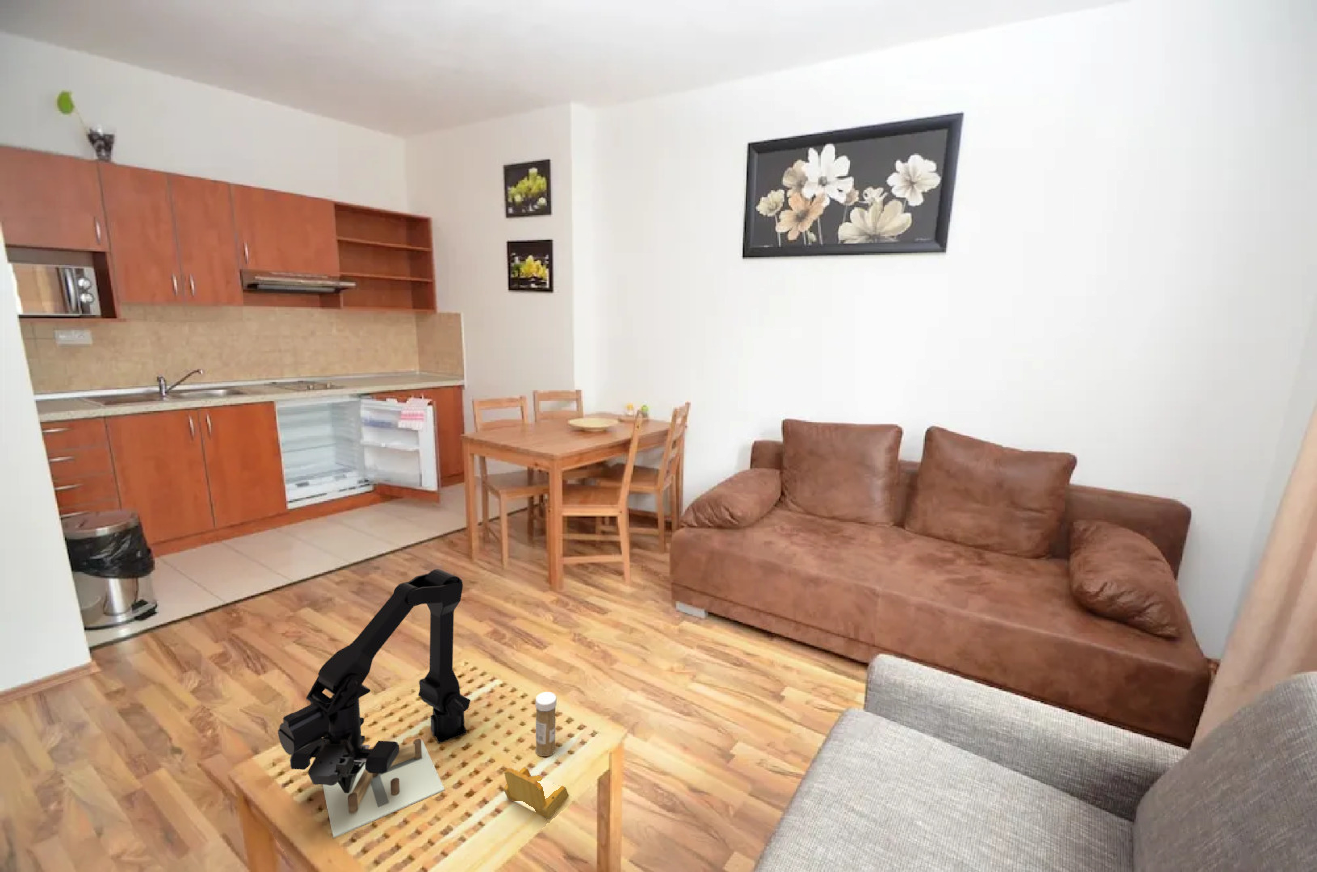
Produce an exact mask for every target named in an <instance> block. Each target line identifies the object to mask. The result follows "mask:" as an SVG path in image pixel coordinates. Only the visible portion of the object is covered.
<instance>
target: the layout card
mask: <svg viewBox="0 0 1317 872" xmlns="http://www.w3.org/2000/svg"><path fill="white" fill-rule="evenodd" d="M421 749H422V757H421V758H420V759H418V760H415V759H414V758H411V759H408V760H406V761H403V762H401V763H398V764H395V765H393V766H390V768H389V769H388V771H387V772H385V773H383V774H380V773H379V774H378V775H377V776H376V777H374V778H372V780H371V782H370V784H369V786H368V788H367V790H366V792H365V794H364V795H363V797H362V799H361V801H360V803H359V805H358V810H357V811H356V812H355V813H352V814H350V813H349V810H348V795H349V794H351V793H352V792H353V790H354V788H355V786H356V784H357V783H358V781H359V779H360V777H361V775H362V773H363V772H364V770H365V764H364V766H363V767H362V769H361V770H360V772H359V773H357V776H356V779H355V781H354V784H353V786H352V789H351V791H350V792H349V793H344V791H343V790H342V788H341V786H340V785H339V783H338V782H337V783H336V784H335V785H332V786H329V785H322V789H323V794H324V799H325V803H326V808H327V813H328V817H329V823H330V828H331V833H332V838H333V839H335V838H337V837H340V836H342V835H344V834H346V833H349V832H352V831H354V830H355V829H358V828H360V827H361V828H362V827H363V826H366V825H367V824H369V823H372V822H374V821H377V820H380V819H381V818H382V819H383V818H384V817H385V816H388V815H391V814H393V813H395V812H399V811H400V810H402V809H404V808H407V807H409V806H412V805H414V804H416V803H418V802H419V803H420V802H421V801H423V800H425V799H428V798H430V797H432V796H434V795H437V794H439V793H441V792H444V791H445V787H444V783H442V780H441V777H440V775H439V774H438V771H437V770H436V767H435V765H434V762H433V761H432V758H431V756H430V753H429V752H428V750H427V747H426V745H425V743H424V741H423V739H421ZM394 778H399V787H400V792H399V794H398V795H395V796H392V795H391V783H390V782H391V780H392V779H394Z"/></svg>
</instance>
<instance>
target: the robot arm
mask: <svg viewBox="0 0 1317 872" xmlns="http://www.w3.org/2000/svg"><path fill="white" fill-rule="evenodd" d="M463 588H464V584H463V580H462V579H461V578H460V577H459V576H457V575H455V574H452V573H450V572H447V571H444V570H443V569H439V568H436V569H433V570H431V571H429V572H428V573H425V574H421V575H416V576H415V577H414V578H412V579H409V581H405V582H401V583H399V584H398V585H397V586H396V587H395V588H394V590H393V594H392V595H391V596H390V597H389V598H388V600H387V601H386V602H385V603H384V604H383V605H382V607H380V609H379V610H378V612H377V613H376V614H375V615H374V617H373V618H372V619H371V620H370V621H369V623H367V624H366V626H365V627H364V628H363V630H362V631H361V632H360V633H359V635H358V636H357V637H356V638H355V639H354V640H353V641H352V642H351V643H350V644H349V645H346V646H345V647H343V648H340V649H339V650H337V651H336V652H335V653H334V654H333V655H332V656H331V657H330V658H329V659H327V661H326V662H325V663H324V664H323V665H322V666H321V668H319V670H318V673H317V675H318V676H317V677H316V680H315V681H314V683H313V685H312V687H311V688H310V690H309V692H308V694H307V695H306V698H305V699H306V700H307V701H308V702H309V703H310V704H309V705H307V706H305V707H302V708H301V709H299V710H297V711H295V712H291V713H288V714H287V715H284V716H283V718H282V722H281V723H280V725H279V726H278V727H279V728H278V729H277V735H278V739H279V742H280V745H281V747H282V749H283V751H285V753H286V754H287V755H289V756H290V757H289V758H290V759H289V764H290V765H289V766H290V769H291V770H300V771H301V770H304V771H305V770H306V769H307V768H308V767H309V769H308V771H307V774H308V776H309V779H310V780H311V782H312V784H313V785H316V786H319V785H322V786H323V785H329V786H332V785H335V784H336V783H337V782H338V783H339V785H340V786H341V788H342V790H343V791H344V793H349V792H350V791H351V789H352V786H353V784H354V781H355V779H356V776H357V773H359V772H360V770H361V769H362V767H363V766H364V764H365V769H366V770H367V771H368V772H369V773H380V774H383V773H385V772H387V771H388V769H389V768H390V766H391V765H392V763H393V761H394V760H395V758H396V757H397V755H398V753H399V747H400V745H399V743H398V742H397V741H392V740H377V742H376V743H375V745H374V746H373V748H370V745H369V744H364V742H366V735H362V725H363V724H364V722H365V717H361V711H360V699H361V698H362V697H364V696H365V695H367V694H369V693H370V692H371V689H370V688H369V687H367V686H366V685H364V684H363V683H364V682H365V680H366V679H367V676H369V674H370V671H371V667H372V664H373V659H374V658H375V656H376V655H377V653H378V652H379V651H380V650H381V649H382V647H383V646H384V645H385V643H386V642H387V641H388V640H389V638H390V637H391V636H392V635H393V634H394V632H395V631H396V629H397V628H398V627H399V626H400V625H401V624H402V622H403V621H404V619H406V617H407V616H408V615H409V613H410V612H411V611H412V609H413V608H414V607H416V606H420V605H425V604H426V605H427V607H428V610H429V612H430V613H429V614H430V615H429V616H430V617H429V619H430V620H429V621H430V622H429V626H430V627H429V671H428V672H427V674H426V675H425V677H423V678H422V679H419V681H418V684H419V692H418V694H417V695H418V696H419V697H420V699H421V701H423V702H424V703H425V704H427V705H428V706H429V707H432V714H431V715H430V731H431V734H432V736H433V738H435V739H436V741H437V743H438V744H442V743H444V742H447V741H449V740H452V739H455V738H457V737H460V736H462V735H465V734H467V732H468V730H467V728H466V727H465V712H466V711H467V710H469V708H470V705H471V704H470V703H471V699H470V698H468V697H466V696H465V695H463V694H461V688H460V682H459V680H458V678H457V676H456V674H455V671H454V670H453V669H454V668H453V667H454V665H453V663H454V662H453V661H454V660H453V659H454V625H455V624H454V623H455V621H454V618H455V617H454V616H455V615H454V614H455V609H457V607H458V605H459V604H460V602H461V599H462V596H463V595H462V594H463ZM324 691H328V692H329V693H331V694H332V695H331V697H330V696H328V695H327V694H325V693H324ZM312 758H314V760H313V762H312V764H311V759H312Z"/></svg>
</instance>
